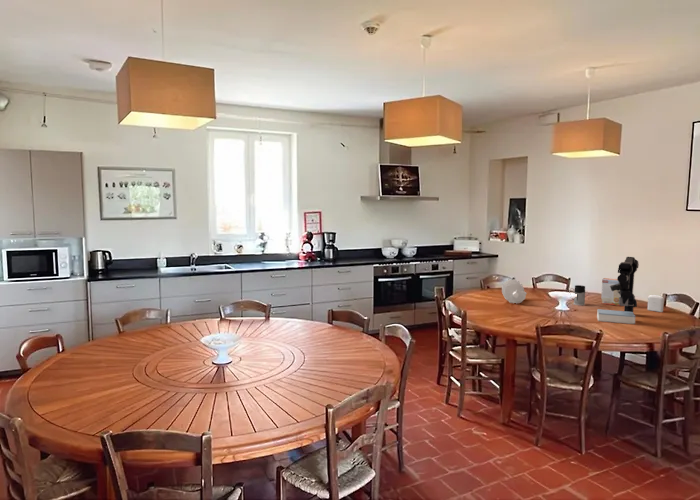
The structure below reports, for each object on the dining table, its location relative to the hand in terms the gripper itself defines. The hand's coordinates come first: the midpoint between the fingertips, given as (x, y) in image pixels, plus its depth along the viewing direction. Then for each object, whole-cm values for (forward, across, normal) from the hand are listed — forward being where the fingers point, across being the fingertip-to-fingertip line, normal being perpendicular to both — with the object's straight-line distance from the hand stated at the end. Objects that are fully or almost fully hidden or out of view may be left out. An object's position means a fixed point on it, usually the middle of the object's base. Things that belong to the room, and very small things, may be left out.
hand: (623, 303), depth 319 cm
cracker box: (+13, -56, 0) cm, 58 cm away
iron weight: (+1, 0, 0) cm, 1 cm away
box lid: (+8, 0, -4) cm, 9 cm away
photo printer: (+13, -44, +28) cm, 53 cm away
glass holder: (+13, -46, -26) cm, 54 cm away
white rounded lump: (+13, -39, -74) cm, 85 cm away
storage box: (+13, 0, -4) cm, 14 cm away
